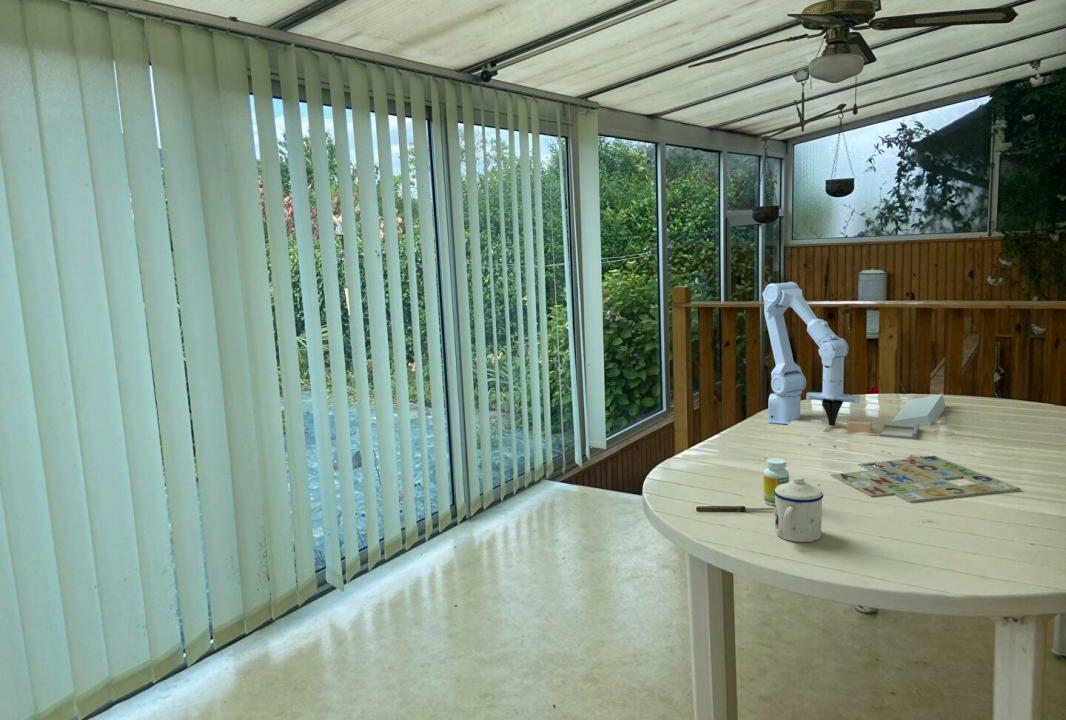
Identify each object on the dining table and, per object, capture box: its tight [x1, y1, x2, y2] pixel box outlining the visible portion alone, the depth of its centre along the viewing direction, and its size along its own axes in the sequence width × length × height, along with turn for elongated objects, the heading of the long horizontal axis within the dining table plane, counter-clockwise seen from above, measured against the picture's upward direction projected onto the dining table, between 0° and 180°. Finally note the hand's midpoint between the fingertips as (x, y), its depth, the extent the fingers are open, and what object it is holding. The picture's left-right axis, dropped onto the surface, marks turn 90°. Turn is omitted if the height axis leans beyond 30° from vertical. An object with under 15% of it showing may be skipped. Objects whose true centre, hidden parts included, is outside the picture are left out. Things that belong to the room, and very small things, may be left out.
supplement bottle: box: [763, 457, 790, 507], centre depth 165 cm, size 5×5×10 cm
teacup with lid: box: [774, 476, 824, 543], centre depth 145 cm, size 12×9×12 cm
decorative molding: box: [891, 393, 946, 426], centre depth 235 cm, size 34×5×10 cm
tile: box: [846, 417, 873, 433], centre depth 217 cm, size 6×6×2 cm
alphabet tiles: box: [830, 455, 1022, 504], centre depth 177 cm, size 33×28×1 cm
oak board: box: [823, 422, 885, 437], centre depth 218 cm, size 15×12×2 cm
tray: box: [879, 424, 920, 441], centre depth 212 cm, size 9×12×3 cm
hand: (832, 424), depth 221 cm, fingers closed
